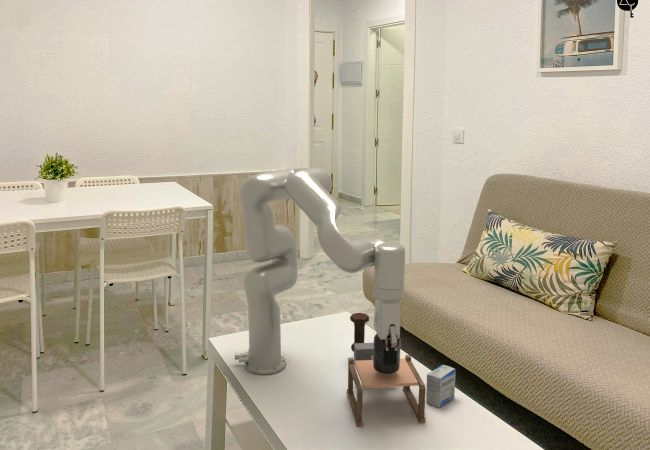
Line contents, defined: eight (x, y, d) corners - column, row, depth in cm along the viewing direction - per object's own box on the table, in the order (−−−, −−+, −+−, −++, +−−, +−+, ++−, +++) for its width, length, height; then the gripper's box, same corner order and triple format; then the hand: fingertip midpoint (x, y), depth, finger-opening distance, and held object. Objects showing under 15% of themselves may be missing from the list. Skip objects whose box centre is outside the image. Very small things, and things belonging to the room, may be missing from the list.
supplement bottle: (393, 361, 159) (394, 318, 156) (403, 372, 152) (405, 328, 150) (369, 364, 157) (370, 321, 154) (378, 376, 151) (380, 331, 148)
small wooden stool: (356, 426, 150) (357, 386, 148) (346, 393, 167) (347, 356, 164) (425, 422, 152) (426, 383, 149) (408, 389, 169) (409, 353, 166)
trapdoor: (363, 395, 150) (363, 378, 149) (350, 358, 170) (350, 343, 169) (417, 392, 152) (418, 375, 151) (398, 356, 172) (398, 341, 171)
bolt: (368, 357, 188) (369, 313, 185) (368, 365, 183) (368, 319, 180) (350, 357, 189) (350, 312, 186) (349, 364, 184) (349, 318, 181)
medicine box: (439, 408, 159) (441, 378, 157) (425, 402, 162) (426, 373, 160) (454, 397, 164) (456, 368, 163) (440, 392, 167) (442, 363, 165)
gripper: (367, 281, 158) (366, 344, 162) (381, 304, 141) (379, 374, 145) (395, 280, 159) (393, 342, 163) (412, 303, 142) (409, 372, 146)
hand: (386, 357), depth 154 cm, fingers closed on supplement bottle, 6 cm apart
